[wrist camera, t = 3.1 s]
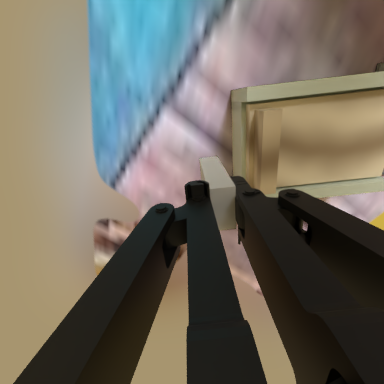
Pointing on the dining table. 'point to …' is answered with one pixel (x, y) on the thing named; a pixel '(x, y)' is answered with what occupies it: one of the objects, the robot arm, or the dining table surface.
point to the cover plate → (314, 140)
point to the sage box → (295, 92)
